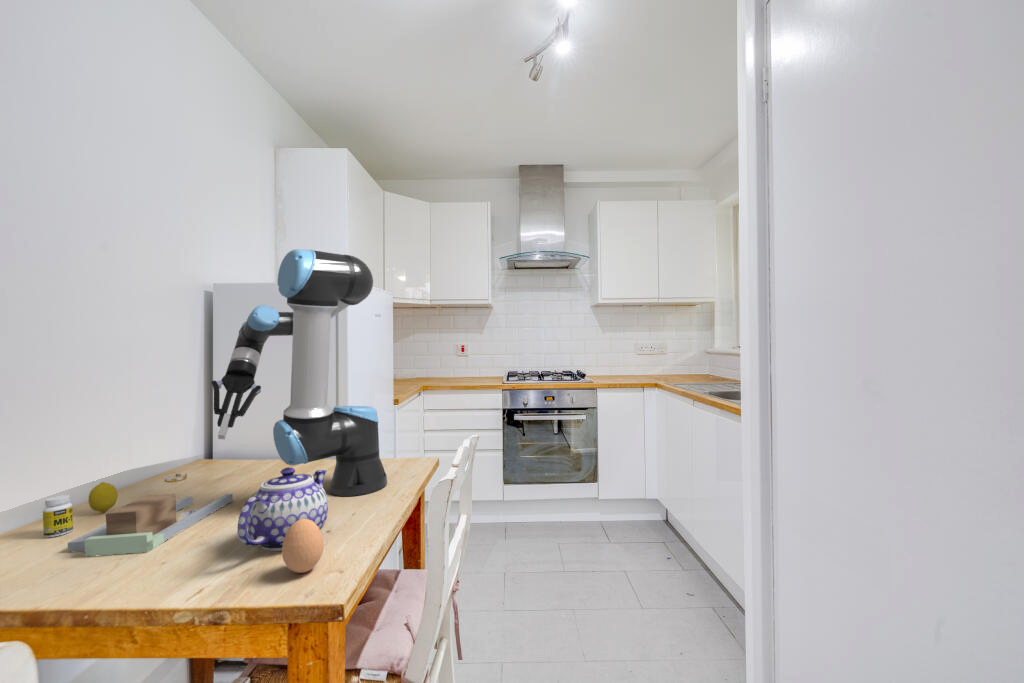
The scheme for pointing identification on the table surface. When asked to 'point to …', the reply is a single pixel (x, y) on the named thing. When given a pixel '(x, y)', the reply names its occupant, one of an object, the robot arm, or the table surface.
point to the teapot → (282, 508)
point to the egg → (302, 546)
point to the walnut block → (143, 515)
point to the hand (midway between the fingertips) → (221, 437)
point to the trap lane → (141, 542)
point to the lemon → (103, 497)
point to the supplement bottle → (57, 516)
